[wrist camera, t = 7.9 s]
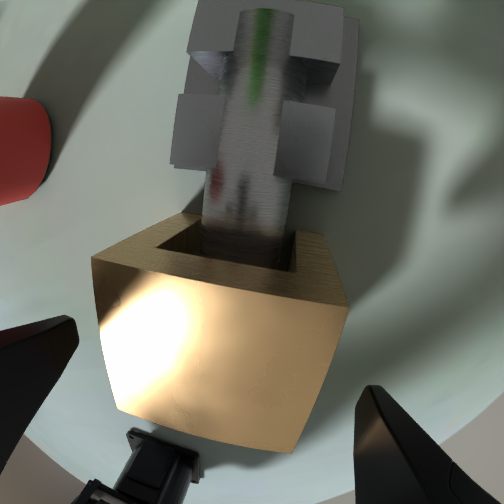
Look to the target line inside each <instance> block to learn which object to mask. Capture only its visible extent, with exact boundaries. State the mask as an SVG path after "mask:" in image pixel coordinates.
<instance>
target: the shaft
mask: <svg viewBox="0 0 504 504" xmlns="http://www.w3.org/2000/svg"><path fill="white" fill-rule="evenodd" d="M358 35H359V20H357V19H353V18H348V17H344V8H343V7H338V6H332V5H327V4H321V3H314V2H307V1H299V0H199V1H198V4H197V8H196V12H195V16H194V20H193V24H192V29H191V33H190V37H189V42H188V47H187V53H188V54H189V55H190V61H189V66H188V72H187V77H186V83H185V89H184V94H179V96H178V102H177V109H176V116H175V123H174V130H173V138H172V147H171V156H170V164H175V165H174V168H178V169H189V170H200V171H206V180H205V189H204V199H203V210H202V221H201V233H200V246H199V256H201V257H206V258H212V259H217V260H223V261H228V262H234V263H239V264H245V265H251V266H256V267H262V268H268V269H273V270H278V267H279V261H280V255H281V249H282V243H283V237H284V231H285V225H286V219H287V213H288V206H289V200H290V194H291V187H292V183H297V184H303V185H309V186H314V187H320V188H325V189H330V190H336V191H341V189H342V183H343V177H344V171H345V165H346V158H347V151H348V144H349V137H350V129H351V121H352V112H353V103H354V93H355V82H356V69H357V54H358Z"/></svg>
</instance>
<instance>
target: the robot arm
mask: <svg viewBox="0 0 504 504" xmlns="http://www.w3.org/2000/svg"><path fill="white" fill-rule="evenodd" d="M78 345H79V335H78V331H77V326H76V322H75V320H74V319H73V318H71V317H69V316H67V315H61V316H57V317H53V318H49V319H45V320H42V321H38V322H34V323H30V324H26V325H22V326H18V327H14V328H10V329H6V330H2V331H0V474H1V472H2V471H3V469H4V466H5V465H6V463H7V461H8V459H9V457H10V456H11V454H12V452H13V450H14V449H15V447H16V445H17V443H18V441H19V440H20V438H21V437H22V435H23V433H24V432H25V430H26V428H27V427H28V425H29V424H30V422H31V420H32V419H33V417H34V416H35V414H36V413H37V411H38V409H39V408H40V406H41V405H42V403H43V402H44V400H45V399H46V397H47V396H48V394H49V393H50V391H51V390H52V388H53V387H54V386H55V384H56V383H57V381H58V380H59V378H60V376H61V375H62V373H63V371H64V369H65V368H66V366H67V364H68V362H69V360H70V359H71V357H72V355H73V354H74V352H75V350H76V348H77V347H78ZM126 436H127V439H128V441H129V444H130V447H131V450H132V454H131V456H130V458H129V460H128V461H127V463H126V465H125V467H124V469H123V471H122V472H121V474H120V476H119V478H118V480H117V482H116V483H115V485H114V487H113V489H111V488H109V487H108V486H106V485H104V484H102V483H101V482H100V481H99V480H97V479H94V481H92V480H89V481H88V483H87V484H86V486H85V488H84V489H83V491H82V492H81V493H80V495H79V496H78V497H77V498H76V499H75V500H74V501H73V502H72V503H71V504H183V501H184V498H185V496H186V493H187V490H188V487H189V484H190V482H191V483H195V484H198V483H199V480H200V472H199V455H198V454H197V453H195V452H192V451H189V450H185V449H182V448H179V447H175V446H172V445H169V444H166V443H163V442H160V441H157V440H154V439H152V438H149V437H146V436H143V435H141V434H138V433H136V432H133V431H128V432H127V434H126ZM353 457H354V476H355V496H356V498H355V499H356V500H355V501H356V504H501V503H500V502H499V501H497V500H496V499H495V498H494V497H492V496H491V495H490V494H489V493H487V492H486V491H485V490H484V489H482V488H481V487H480V486H479V485H478V484H477V483H475V482H474V481H473V480H472V479H471V478H470V477H469V476H468V475H467V474H466V473H465V472H464V471H463V470H462V469H461V468H460V467H459V466H458V465H457V464H456V463H455V462H452V459H451V458H450V457H449V456H448V455H447V454H446V453H445V452H444V451H443V450H442V449H441V447H440V446H439V445H438V444H437V443H436V442H435V441H434V440H433V439H432V438H431V437H430V436H429V435H428V434H427V433H426V432H425V431H424V430H423V429H422V428H421V427H420V426H419V425H418V424H417V423H416V422H415V420H414V419H413V418H412V417H411V416H410V415H409V414H408V413H407V412H406V411H405V410H404V409H403V408H402V407H401V406H400V405H399V404H398V403H397V402H396V401H395V400H394V399H393V398H392V397H391V396H390V395H389V394H388V392H387V391H386V390H385V389H384V388H383V387H382V386H380V385H367V386H366V387H365V389H364V390H363V392H362V394H361V396H360V398H359V400H358V402H357V404H356V407H355V426H354V451H353Z"/></svg>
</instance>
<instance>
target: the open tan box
mask: <svg viewBox="0 0 504 504" xmlns="http://www.w3.org/2000/svg"><path fill="white" fill-rule="evenodd" d="M201 221H202V215H197V214H190V213H183V212H181V213H178V214H176V215H174V216H172V217H170V218H168V219H166V220H163V221H161V222H159V223H157V224H155V225H153V226H151V227H149V228H147V229H145V230H143V231H141V232H138V233H136V234H134V235H132V236H130V237H128V238H126V239H124V240H122V241H121V242H119V243H117V244H115V245H113V246H111V247H109V248H107V249H105V250H103V251H101V252H99V253H97V254H96V255H94V256H92V257H91V266H92V277H93V287H94V296H95V304H96V311H97V318H98V324H99V330H100V336H101V341H102V346H103V351H104V356H105V361H106V365H107V370H108V374H109V378H110V382H111V386H112V390H113V394H114V397H115V401H116V404H117V408H118V409H120V410H122V411H124V412H127V413H129V414H132V415H134V416H137V417H140V418H142V419H145V420H148V421H151V422H153V423H156V424H159V425H162V426H165V427H168V428H171V429H175V430H178V431H181V432H185V433H188V434H192V435H195V436H199V437H203V438H207V439H211V440H215V441H219V442H224V443H228V444H233V445H238V446H243V447H249V448H254V449H260V450H267V451H274V452H282V453H290V454H292V452H293V450H294V448H295V445H296V443H297V441H298V439H299V437H300V435H301V433H302V431H303V429H304V426H305V424H306V422H307V420H308V418H309V415H310V413H311V411H312V409H313V406H314V404H315V402H316V399H317V397H318V394H319V392H320V389H321V387H322V385H323V382H324V379H325V377H326V374H327V372H328V369H329V366H330V364H331V361H332V358H333V356H334V353H335V350H336V347H337V345H338V342H339V339H340V336H341V333H342V330H343V327H344V324H345V321H346V318H347V314H348V311H349V308H350V307H349V304H348V301H347V298H346V295H345V292H344V290H343V287H342V284H341V281H340V278H339V275H338V273H337V270H336V267H335V264H334V262H333V259H332V256H331V253H330V251H329V248H328V246H327V243H326V240H325V238H324V235H320V234H314V233H309V232H303V231H297V230H296V234H295V240H294V246H293V251H292V256H291V262H290V267H289V272H285V271H279V270H273V269H268V268H262V267H256V266H251V265H245V264H239V263H234V262H228V261H223V260H217V259H212V258H206V257H201V256H199V246H200V233H201Z"/></svg>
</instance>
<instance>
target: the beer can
mask: <svg viewBox="0 0 504 504" xmlns="http://www.w3.org/2000/svg"><path fill="white" fill-rule="evenodd" d="M51 146H52V143H51V126H50V121H49V117H48V114H47V113H46V111H45V109H44V107H43V105H42V104H40V103H39V102H37V101H36V100H34V99H27V98H15V97H0V206H1V205H5V204H8V203H12V202H16V201H20V200H24V199H27V198H28V197H30V196H31V195H32V194H33V193H34V192H35V191H36V190H37V189H38V187H39V185H40V183H41V182H42V180H43V178H44V176H45V173H46V170H47V167H48V164H49V159H50V152H51Z"/></svg>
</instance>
